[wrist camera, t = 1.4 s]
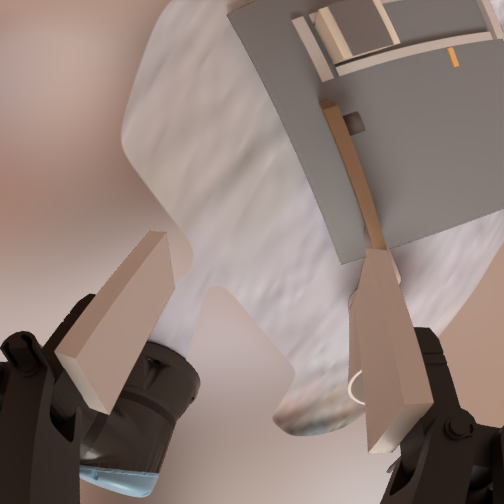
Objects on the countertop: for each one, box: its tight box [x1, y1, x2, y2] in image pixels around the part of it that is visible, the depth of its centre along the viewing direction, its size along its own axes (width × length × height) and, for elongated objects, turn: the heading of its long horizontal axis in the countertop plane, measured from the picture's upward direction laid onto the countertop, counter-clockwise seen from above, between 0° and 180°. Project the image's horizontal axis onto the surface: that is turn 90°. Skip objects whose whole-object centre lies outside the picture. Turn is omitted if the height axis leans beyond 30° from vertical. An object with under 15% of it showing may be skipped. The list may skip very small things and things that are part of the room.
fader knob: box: [315, 0, 400, 64], centre depth 17 cm, size 4×4×7 cm
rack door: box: [319, 100, 387, 251], centre depth 23 cm, size 2×12×6 cm, turn 26°
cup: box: [348, 289, 365, 405], centre depth 30 cm, size 8×8×12 cm
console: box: [227, 0, 504, 284], centre depth 19 cm, size 24×26×10 cm
